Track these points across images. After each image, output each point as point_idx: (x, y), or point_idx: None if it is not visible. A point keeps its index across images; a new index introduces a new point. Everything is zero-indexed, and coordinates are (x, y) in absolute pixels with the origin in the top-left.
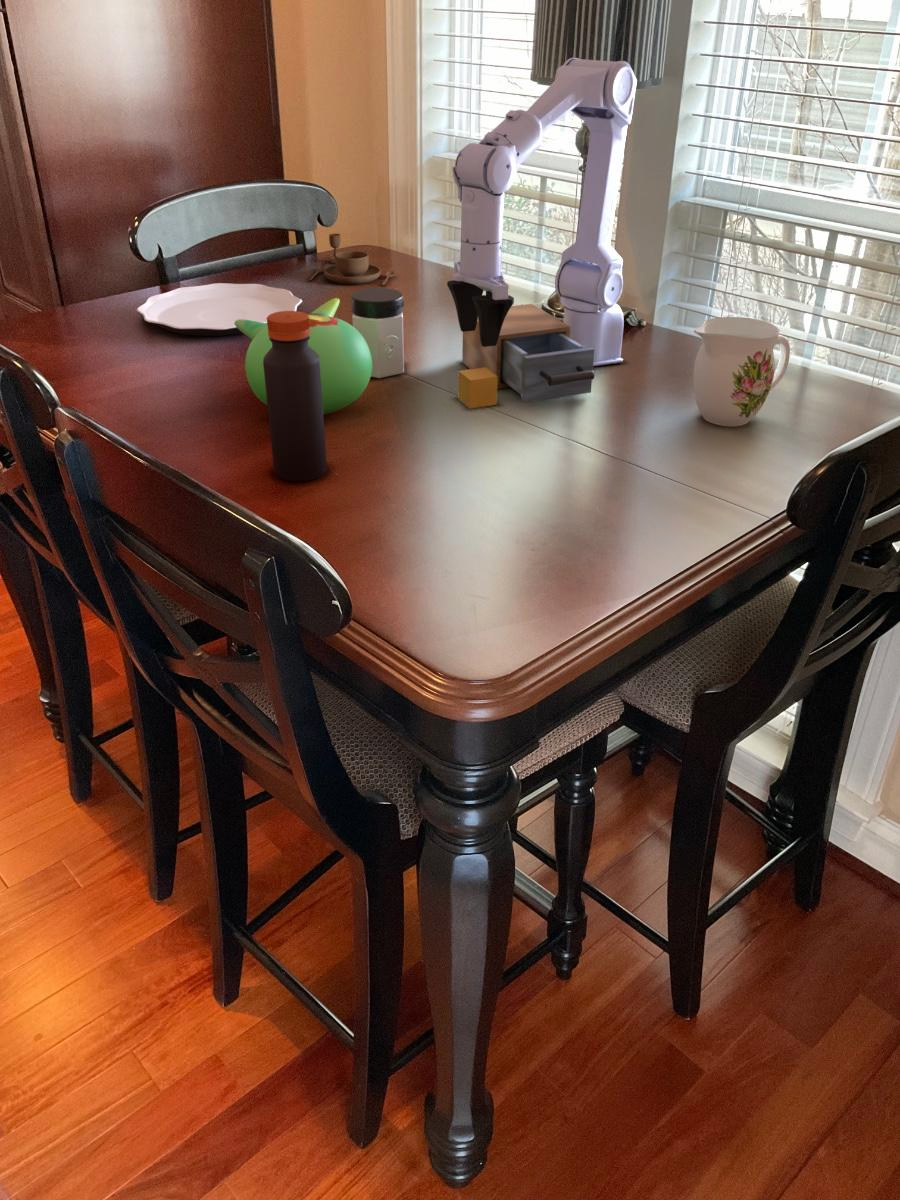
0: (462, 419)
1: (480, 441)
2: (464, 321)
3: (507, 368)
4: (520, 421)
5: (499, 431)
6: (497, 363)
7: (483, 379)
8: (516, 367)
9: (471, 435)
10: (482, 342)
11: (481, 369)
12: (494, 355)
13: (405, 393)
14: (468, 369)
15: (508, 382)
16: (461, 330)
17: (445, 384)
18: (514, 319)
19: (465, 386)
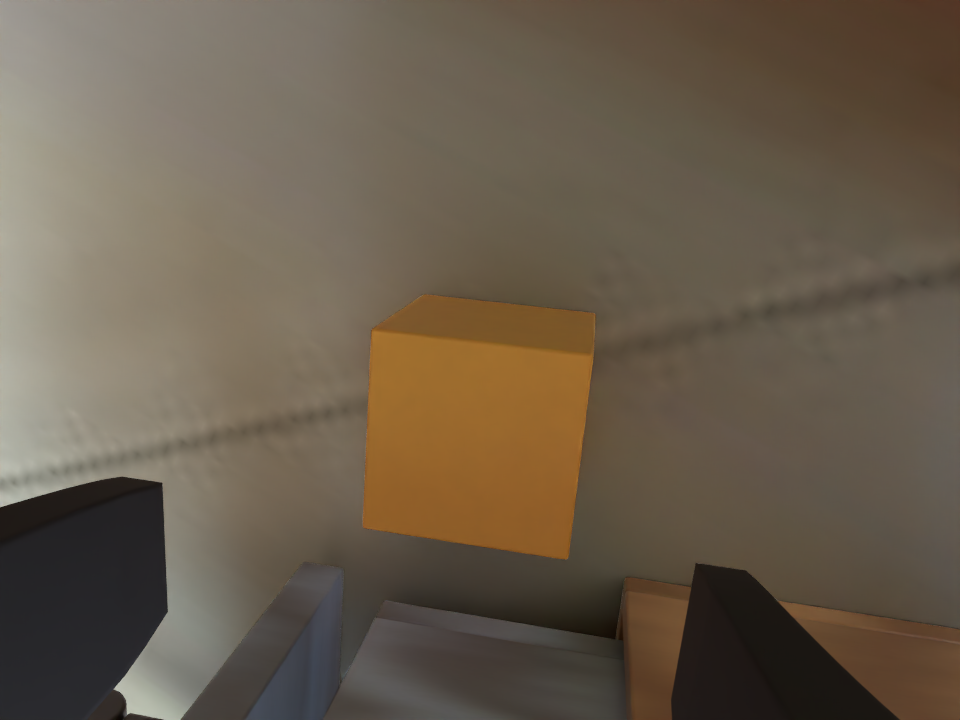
0: (304, 179)
1: (10, 122)
2: (714, 664)
3: (564, 695)
4: (173, 436)
5: (94, 277)
6: (629, 679)
7: (367, 425)
8: (421, 705)
9: (91, 116)
10: (90, 485)
11: (532, 510)
12: None
13: (876, 37)
14: (579, 431)
15: (544, 636)
16: (723, 569)
17: (870, 366)
18: None
19: (468, 322)
